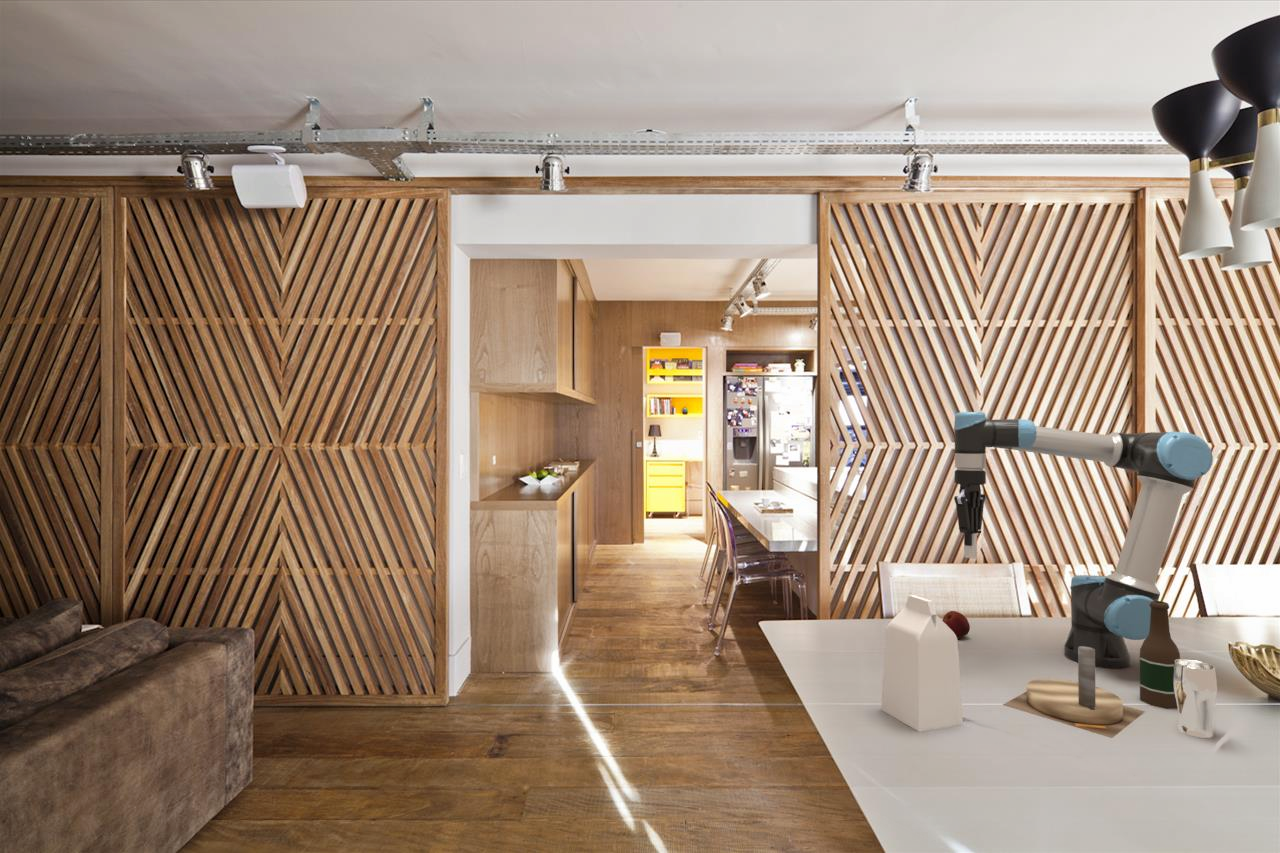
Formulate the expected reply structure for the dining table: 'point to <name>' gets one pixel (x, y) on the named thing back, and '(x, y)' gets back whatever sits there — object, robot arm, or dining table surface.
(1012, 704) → the dial base
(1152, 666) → the beer bottle
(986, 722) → the dining table surface
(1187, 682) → the beer glass
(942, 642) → the milk
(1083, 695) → the cam dial
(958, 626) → the apple
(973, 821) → the dining table surface
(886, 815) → the dining table surface
